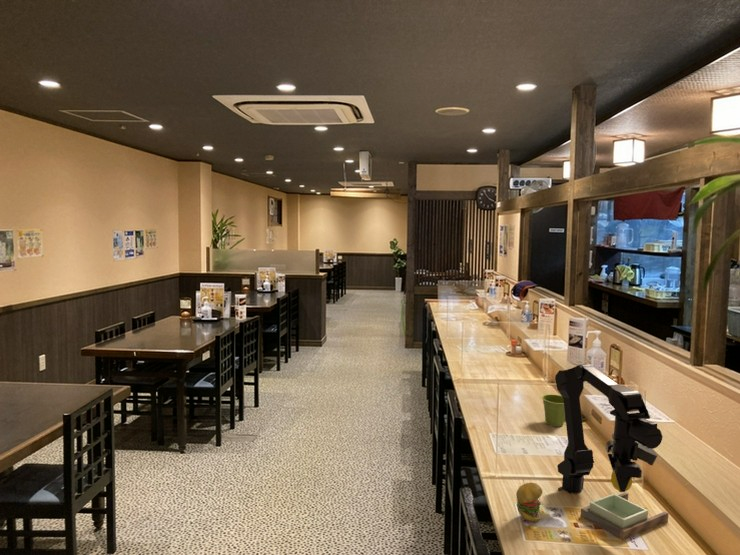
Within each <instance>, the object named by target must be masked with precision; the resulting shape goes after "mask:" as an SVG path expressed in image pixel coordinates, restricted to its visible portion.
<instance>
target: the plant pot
mask: <svg viewBox="0 0 740 555" xmlns="http://www.w3.org/2000/svg"><path fill="white" fill-rule="evenodd" d="M541 399H542V403H543V409H544V419H545V423H546V425H548V424H549V426H550V425H551V427H557V428H559V427H563V425H564V422H565V420H566V418H565V409H564V400H563V397H562V395H561V394H550V393H549V394H544V395H542V396H541Z"/></svg>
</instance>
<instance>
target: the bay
mask: <svg viewBox="0 0 740 555" xmlns="http://www.w3.org/2000/svg"><path fill="white" fill-rule="evenodd" d="M617 495H618V496H620V497H622V498H624V499H626V500H628V501H629V493H628V492H627V491H625V492H622V493H620V494H617ZM589 509H590V504H589V505H587V506H583V507H581V508H580V517H581V518H583V519H584V520H586V521H587V522H590V523H591V524H593V525H594V526H597V527H599V528H600V529H602V530H604V531H606V532H607V533H609V534H611V535H612V536H614V537H616V538H618V539H620V540H621V541H625V540H627V539H630V538H632V537H634V536H636V535H639V534H641V533H643V532H646V531H647V530H650V529H652V528H654V527H657V526H659V525H661V524H664V523H666V522H668V521H669V514H670V513H669V512H668V511H666V510H665V511H662V512H660V513H658V514H655V515H653V516H651V517H648V518H647V519H645V520H643V521H641V522H638V523H636V524H633V525H631V526H629V527H626V528H624V529H622V528H621V527H619V526H617V525H615V524H613V523H611V522H610V521H608V520H606V519H604V518H602V517H600V516H598V515H597V514H595V513H593V512H591V511H589Z"/></svg>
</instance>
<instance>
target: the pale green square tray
mask: <svg viewBox="0 0 740 555" xmlns="http://www.w3.org/2000/svg"><path fill="white" fill-rule="evenodd" d="M618 495H619V494H616V493H612V494H609V495H606V496H604V497H600V498H598V499H595V500H592V501H590V502H589V505H590V509H589V511H591V512H593V513H595V514H597V515H598V516H600V517H602V518H604V519H606V520H608V521H610V522H611V523H613V524H615V525H617V526H619V527H621V528H622V529H624V528H626V527H629V526H631V525H633V524H636V523H638V522H641V521H643V520H645V519H648V518H649V516H648V515H649V510H648V509H647V508H644V507H642V506H640V505H638V504H636V503H634V502H631V501H630V500H629V499H628V500H626V499H624V498H622V497H620V496H618Z"/></svg>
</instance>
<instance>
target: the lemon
mask: <svg viewBox="0 0 740 555" xmlns="http://www.w3.org/2000/svg"><path fill="white" fill-rule="evenodd" d="M610 480H611V484H612V487H613V488H614V489H615V490H617V491H618V492H619V493H620V494H622V493H623V492H621V491H620V489H619V485H618V482H617V479H616V475H615V472H614V470H612V471H611V476H610ZM632 484H633V477H631V479H630V481H629V483H628V485H627V488H626V490H625V492H627V491H629V490H630V489H631V487H632V486H633V485H632Z"/></svg>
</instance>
